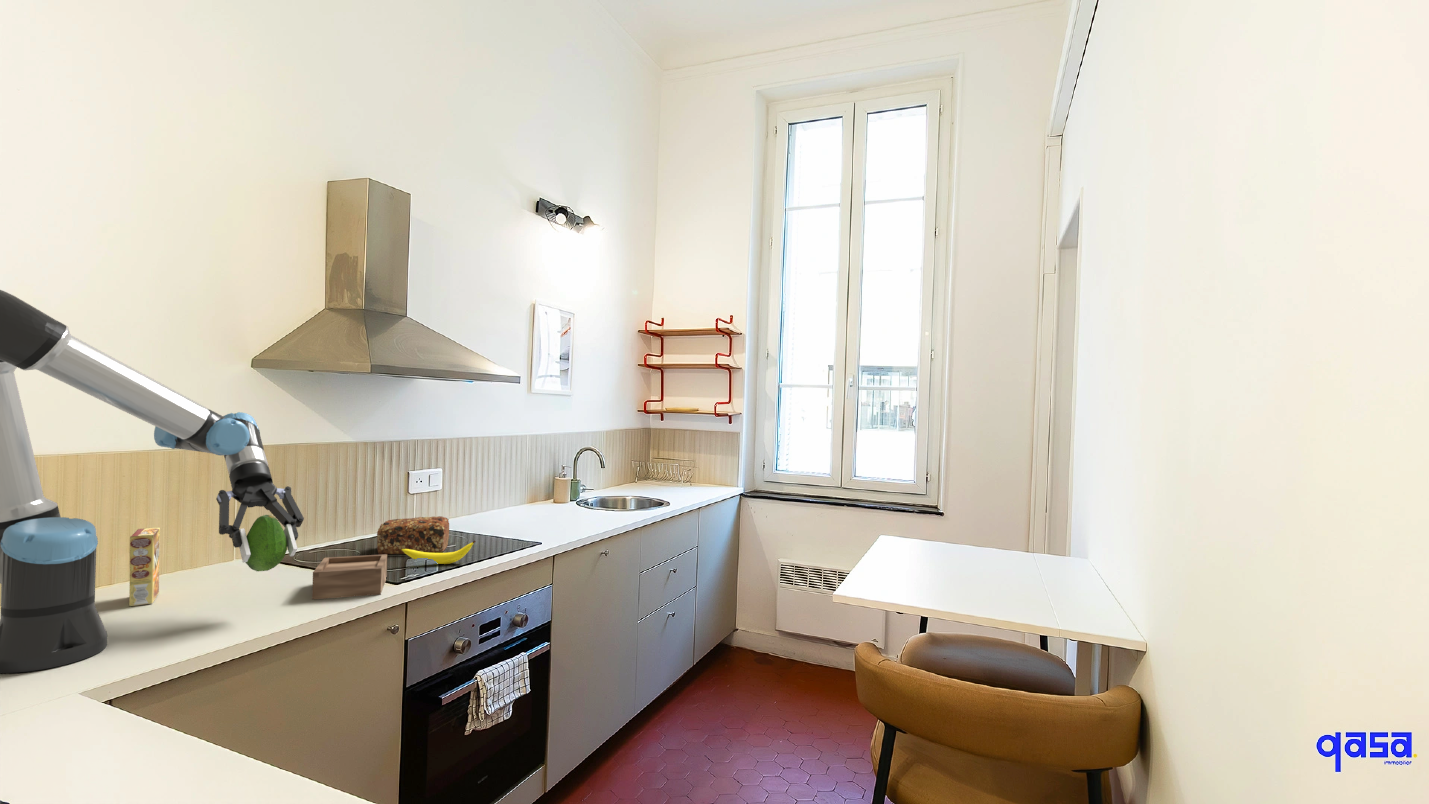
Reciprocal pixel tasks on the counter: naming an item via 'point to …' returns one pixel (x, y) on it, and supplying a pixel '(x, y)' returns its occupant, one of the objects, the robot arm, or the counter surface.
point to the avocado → (266, 543)
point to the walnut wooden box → (349, 576)
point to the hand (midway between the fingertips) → (270, 555)
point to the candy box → (144, 566)
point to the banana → (440, 555)
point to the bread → (413, 535)
